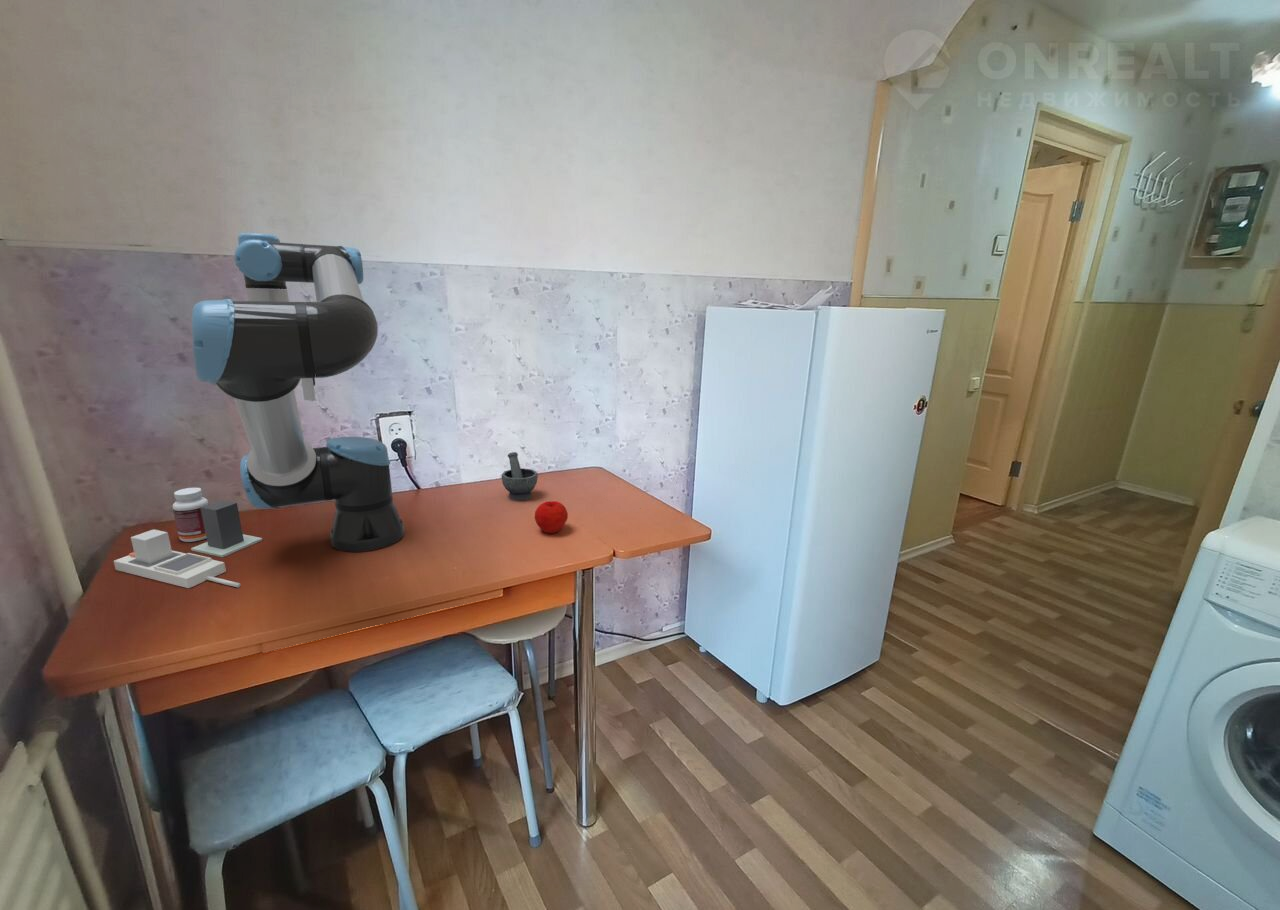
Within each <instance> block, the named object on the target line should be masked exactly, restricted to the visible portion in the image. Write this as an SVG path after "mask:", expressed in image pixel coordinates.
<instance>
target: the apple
mask: <svg viewBox="0 0 1280 910" xmlns="http://www.w3.org/2000/svg"><path fill="white" fill-rule="evenodd" d="M568 515H569V513H568V510H567V508H566V506H565V505H564V504H562V503H561V502H560V501H557V500H556V501H554V500H550V501H545V502H543V503H541V504H540V505H538V506H537V508H536V510H534V521H535V522H536V525H537V527H538V528H539V529H540V530H542V531H543V532H544V533H546V534H554V533H555V534H556V533H558V532H560V531H561V530H562V529H563V528H564V526H565V524H566V523H567V521H568Z"/></svg>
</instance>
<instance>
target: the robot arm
mask: <svg viewBox="0 0 1280 910" xmlns="http://www.w3.org/2000/svg"><path fill="white" fill-rule="evenodd" d="M237 244H238V245H237V247H236V249H235V251H234V261H235V263H236V264H235V265H236V266H237V268H238V270H239V271H240V273H242V275H243V278H244V279H243V280H244V284H245V285H244V286H245V293H246V299H247V300H232V299H231V298H224V299H218V300H217V299H212V300H201V301H199V302H197V303H196V304H194V306H193V307H192V311H191V334H192V338H191V339H192V348H193V349H192V351H193V352H192V353H193V361H194V362H193V363H194V368H195V369H194V370H195V375H196V379H198V380H199V381H200V382H201V383H209V384H216V386H217V387H218V389H219V390H220V391H221V392H222V393H224V394H225V395H226V396H228V397H231V398H232V399H233V400H234V403H235V404H234V405H235V406H236V407H235V408H236V409H237V410H236V411H237V412H238V415H239V417H240V421H241V423H242V427H243V429H244V432H245V435H246V438H247V441H248V443H249V446H250V451H249V453H248V454H245V455H244V456H243V457H241V460H240V464H239V465H240V467H239V468H240V469H239V471H240V477H241V484H242V486H243V488H244V492H245V495H246V498H247V500H248V502H249V503H250V504H251V505H252V506H253V507H254V508H256V509H259V510H260V509H261V510H264V509H273V510H275V509H280V508H286V507H291V506H292V507H293V506H299V505H306V504H314V503H320V502H329V501H334V505H335V513H334V517H333V522H332V529H331V530H330V533H329V534H330V544H331V546H332V547H333V548H335V549H336V550H339V551H342V552H352V553H353V552H354V553H355V552H368V551H374V550H379V549H381V548H385V547H388V546H391V545H393V544H395V543H397V542H398V541H401V539H402V538H403V537H404V535H405V524H404V522H403V520H402V519H401V517H400V515H399V512H398V510H397V508H396V506H395V503H394V499H393V498H394V497H393V490H392V489H393V488H392V481H391V473H390V470H391V469H390V465H391V461H390V459H389V454H388V453H389V452H388V448H387V446H386V444H385V443H383V441H380V440H379V439H374V438H370V437H364V436H340V437H332V438H330V439H328V440H327V441H326V442H327V443H326V446H323V447H319V446H318V447H313V446H312V445H311V444H310V443H309V442H307V441H306V440H305V437H304V431H303V429H302V427H303V426H302V422H301V417H300V412H299V408H298V402H297V397H296V392H295V390H296V388H297V387H298V386H299V384H300V382H301V386H302V393H303V400H304V401H310V402H311V401H313V402H314V401H316V394H315V387H314V386H316V379H323V378H329V377H334V376H338V375H340V374H342V373H343V374H344V373H345V372H348V371H349V370H351V369H352V368H354V367H356V366H357V365H358V364H359V363H361V362H362V361H363V360H365V358H366V357H367V356H368V355H369V353H370V352H372V350H373V348H374V347H375V344H376V341H377V338H378V335H379V334H378V331H379V329H378V328H379V327H378V321H377V318H376V315H375V313H374V310H373V309H372V308H371V306H370V305H369V304H368V303H366V302H365V300H364V298H363V296H362V295H363V294H362V292H361V289H360V286H359V285H360V284H362V283H363V282H364V267H363V259H362V254H361V252H360V250H359V249H358V248H355V247H350V246H344V245H322V244H321V245H320V244H303V243H294V242H293V243H292V242H291V243H289V242H281V240H280V238H278V236H276V235H272V234H267V233H255V232H242V233H241V232H240V233H239V234H238V236H237ZM287 282H288V283H313V284H314V285H313V286H314V292H315V297H316V298H315V300H316V301H290V298H289V292H288V287H287V284H286V283H287Z"/></svg>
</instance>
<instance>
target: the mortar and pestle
mask: <svg viewBox="0 0 1280 910" xmlns="http://www.w3.org/2000/svg"><path fill="white" fill-rule="evenodd" d="M518 456H519V454H518V452H516V451H513V452H510V453H508V454H507V458H508V460H509V466H510V469H507V470H504V471H503V472H502V473H501V483H502V485H503V487H504V489H506V490H507V492H509V493H508V498H509V499H510V500H513V501H519V502H520V501H521V502H522V501H526V500H529V499H531V498H532V497H533V496H532V491H533V490H534V488H535V487H536V485H537V482H538V477H539V476H538V475H539V474H538V472H537V471H535V470H534V469H531V468H530V469H529V468H521V464H520V462H519V458H518Z"/></svg>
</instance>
